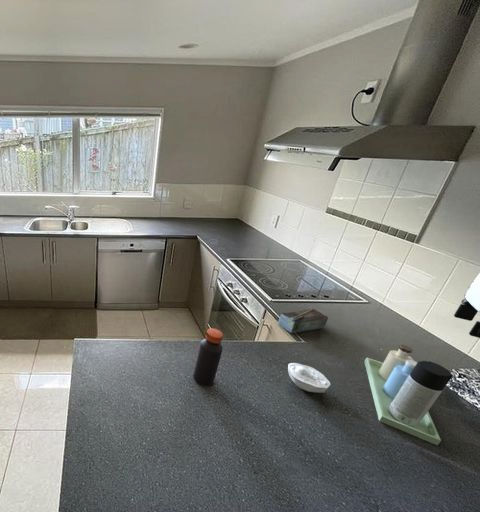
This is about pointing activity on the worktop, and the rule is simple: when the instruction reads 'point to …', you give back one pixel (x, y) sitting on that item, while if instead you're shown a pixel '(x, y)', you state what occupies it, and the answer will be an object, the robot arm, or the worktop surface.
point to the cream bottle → (394, 361)
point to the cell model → (308, 378)
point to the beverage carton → (302, 320)
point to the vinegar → (208, 358)
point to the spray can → (419, 392)
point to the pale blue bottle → (398, 378)
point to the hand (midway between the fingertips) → (469, 327)
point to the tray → (383, 402)
